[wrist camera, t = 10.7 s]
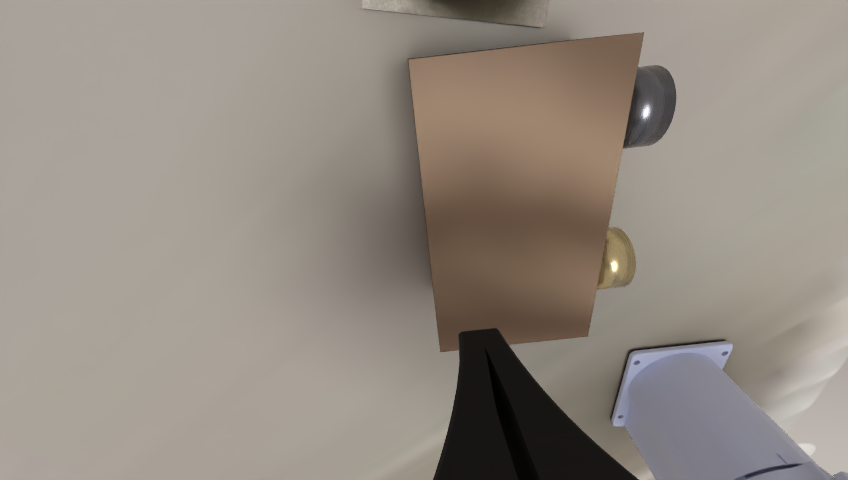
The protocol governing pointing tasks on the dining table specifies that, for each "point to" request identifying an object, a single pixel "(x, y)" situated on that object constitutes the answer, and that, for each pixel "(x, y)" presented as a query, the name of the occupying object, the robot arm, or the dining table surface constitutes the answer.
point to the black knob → (650, 106)
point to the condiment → (470, 9)
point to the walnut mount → (521, 181)
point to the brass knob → (616, 260)
